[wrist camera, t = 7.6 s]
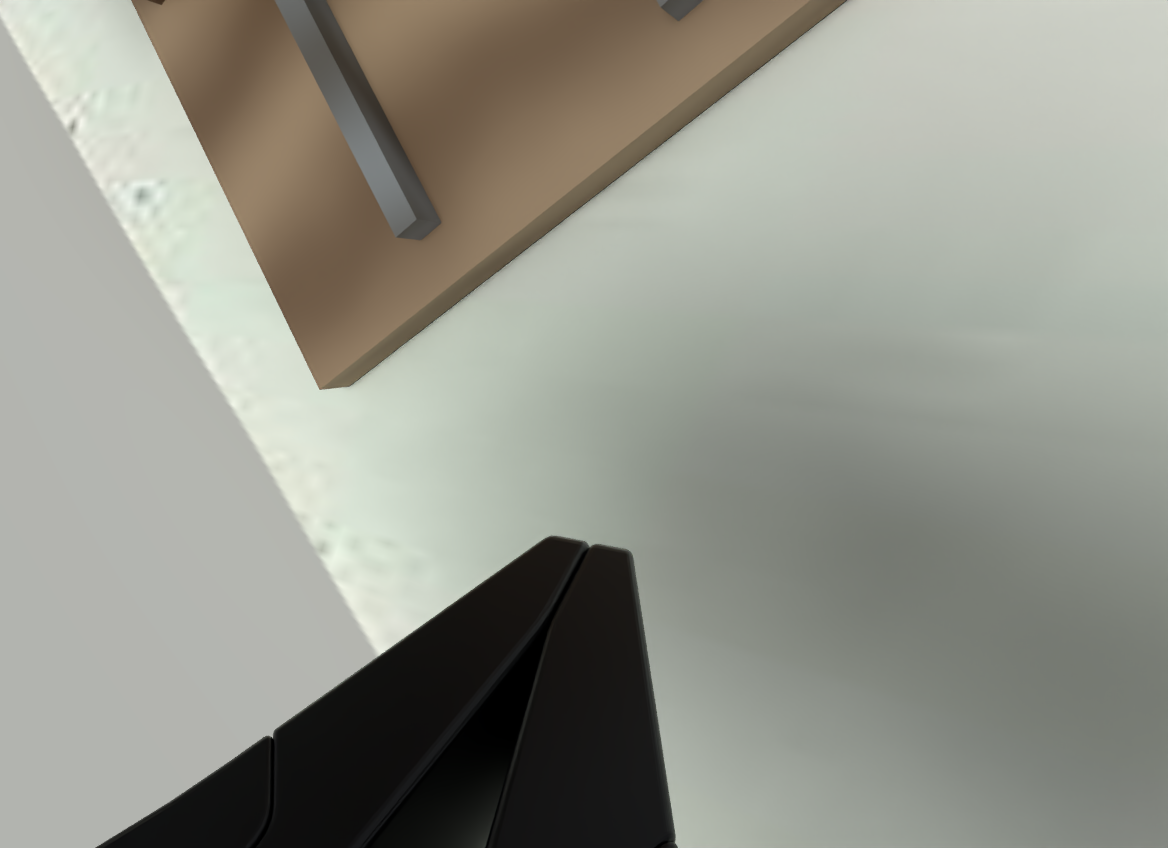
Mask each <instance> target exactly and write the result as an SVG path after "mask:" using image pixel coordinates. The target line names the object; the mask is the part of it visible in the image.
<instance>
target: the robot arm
mask: <svg viewBox="0 0 1168 848" xmlns="http://www.w3.org/2000/svg"><path fill="white" fill-rule="evenodd" d="M675 838H676V836H675V829H674V823H673V816H672V809H671V803H670V796H669V790H668V783H667V777H666V770H665V763H664V757H663V750H662V744H661V737H660V731H659V724H658V717H657V711H656V704H655V698H654V691H653V685H652V678H651V671H650V665H649V658H648V652H647V645H646V639H645V632H644V625H643V619H642V612H641V606H640V599H639V593H638V586H637V579H636V573H635V566H634V560H633V555H632V553H631V552H630V551H629V550H627V549H623V548H618V547H612V546H607V545H602V544H595V545H592V546H591V547H589V545H588V544H587V543H586V542H585V541H581V540H576V539H571V538H565V537H560V536H549V537H546V538H545V539H543V540H542V541H540V542H539V543H537V544H536V545H535V546H533V547H532V548H530V549H529V550H528V551H526V552H525V553H523V554H522V555H521V556H519V557H518V558H516V559H515V560H513V561H512V562H511V563H509V564H508V565H506V566H505V567H504V568H502V569H501V570H499V571H498V572H497V573H495V574H494V575H492V576H491V577H490V578H488V579H487V580H485V581H484V582H482V583H481V584H480V585H478V586H477V587H475V588H474V589H473V590H471V591H470V592H468V593H467V594H466V595H464V596H463V597H461V598H460V599H459V600H457V601H456V602H454V603H453V604H451V605H450V606H449V607H447V608H446V609H444V610H443V611H442V612H440V613H439V614H437V615H436V616H435V617H433V618H432V619H430V620H429V621H427V622H426V623H425V624H423V625H422V626H420V627H419V628H418V629H416V630H415V631H413V632H412V633H411V634H409V635H408V636H406V637H405V638H404V639H402V640H401V641H399V642H398V643H396V644H395V645H394V646H392V647H391V648H389V649H388V650H387V651H385V652H384V653H382V654H381V655H380V656H378V657H377V658H375V659H374V660H372V661H371V662H370V663H368V664H367V665H366V666H364V667H363V668H361V669H360V670H358V671H357V672H356V673H354V674H353V675H351V676H350V677H349V678H347V679H346V680H345V681H343V682H341V683H340V684H339V685H337V686H336V687H334V688H333V689H332V690H330V691H329V692H328V693H326V694H325V695H323V696H322V697H320V698H319V699H318V700H316V701H315V702H313V703H312V704H310V705H309V706H308V707H306V708H305V709H303V710H302V711H301V712H299V713H298V714H296V715H295V716H294V717H292V718H291V719H289V720H288V721H286V722H285V723H284V724H282V725H281V726H280V727H278V728H277V729H275V731H274V733H273V738H272V737H270V736H265V737H263V738H262V739H261V740H259V741H258V742H257V743H255V744H254V745H252V746H251V747H249V748H248V749H246V750H245V751H244V752H242V753H241V754H240V755H238V756H237V757H235V758H234V759H232V760H231V761H229V762H228V763H227V764H225V765H224V766H222V767H221V768H219V769H218V770H216V771H215V772H213V773H212V774H210V775H209V776H207V777H206V778H205V779H203V780H201V781H200V782H198V783H197V784H196V785H194V786H193V787H191V788H190V789H188V790H187V791H185V792H184V793H182V794H181V795H179V796H178V797H176V798H175V799H173V800H172V801H170V802H169V803H167V804H166V805H164V806H162V807H161V808H159V809H157V810H156V811H154V812H153V813H151V814H149V815H148V816H146V817H144V818H143V819H141V820H140V821H138V822H137V823H135V824H134V825H132V826H130V827H128V828H127V829H125V830H124V831H122V832H121V833H119V834H117V835H115V836H114V837H112V838H110V839H109V840H107V841H106V842H104V843H103V844H101V845H99V846H97V847H96V848H678V847H677V845H676V844H675Z"/></svg>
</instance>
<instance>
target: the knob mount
mask: <svg viewBox="0 0 1168 848" xmlns="http://www.w3.org/2000/svg"><path fill="white" fill-rule="evenodd" d="M131 1H132V3H133V5H134V7H135V9H136V11H137V13H138V15H139V17H140V19H141V21H142V23H143V25H144V28H145V30H146V32H147V34H148V36H149V38H150V40H151V42H152V44H153V46H154V48H155V50H156V52H157V54H158V56H159V59H160V61H161V63H162V65H163V67H164V69H165V71H166V73H167V75H168V77H169V79H170V81H171V83H172V85H173V88H174V90H175V92H176V94H177V96H178V98H179V100H180V102H181V104H182V106H183V108H184V110H185V112H186V114H187V116H188V119H189V121H190V123H191V125H192V127H193V129H194V131H195V133H196V135H197V137H198V139H199V141H200V143H201V145H202V147H203V150H204V152H205V154H206V156H207V158H208V160H209V162H210V164H211V166H212V168H213V170H214V172H215V174H216V176H217V179H218V181H219V183H220V185H221V187H222V189H223V191H224V193H225V195H226V197H227V199H228V201H229V203H230V205H231V207H232V210H233V212H234V214H235V216H236V218H237V220H238V222H239V224H240V226H241V228H242V230H243V232H244V234H245V236H246V239H247V241H248V243H249V245H250V247H251V249H252V251H253V253H254V255H255V257H256V259H257V261H258V263H259V265H260V267H261V270H262V272H263V274H264V276H265V278H266V280H267V282H268V284H269V286H270V288H271V290H272V292H273V294H274V296H275V298H276V301H277V303H278V305H279V307H280V309H281V311H282V313H283V315H284V317H285V319H286V321H287V323H288V325H289V327H290V330H291V332H292V334H293V336H294V338H295V340H296V342H297V344H298V346H299V348H300V350H301V352H302V354H303V356H304V358H305V361H306V363H307V365H308V367H309V369H310V371H311V373H312V375H313V377H314V379H315V381H316V383H317V385H318V387H319V389H320V390H322V389H331V388H339V387H348V386H350V385H352V384H353V383H354V382H355V381H357V380H358V379H359V378H361V377H362V376H363V375H364V374H366V373H367V372H368V371H370V370H371V369H372V368H373V367H375V366H376V365H377V364H379V363H380V362H381V361H382V360H384V359H385V358H386V357H388V356H389V355H390V354H391V353H393V352H394V351H395V350H397V349H398V348H399V347H400V346H402V345H403V344H404V343H406V342H407V341H408V340H409V339H411V338H412V337H413V336H415V335H416V334H417V333H419V332H420V331H421V330H422V329H424V328H425V327H426V326H428V325H429V324H430V323H431V322H433V321H434V320H435V319H437V318H438V317H439V316H440V315H442V314H443V313H444V312H446V311H447V310H448V309H449V308H451V307H452V306H453V305H455V304H456V303H457V302H458V301H460V300H461V299H462V298H464V297H465V296H466V295H467V294H469V293H470V292H471V291H473V290H474V289H475V288H477V287H478V286H479V285H480V284H482V283H483V282H484V281H486V280H487V279H488V278H489V277H491V276H492V275H493V274H495V273H496V272H497V271H498V270H500V269H501V268H502V267H504V266H505V265H506V264H507V263H509V262H510V261H511V260H513V259H514V258H515V257H516V256H518V255H519V254H520V253H522V252H523V251H524V250H525V249H527V248H528V247H529V246H531V245H532V244H533V243H534V242H536V241H537V240H538V239H540V238H541V237H542V236H544V235H545V234H546V233H547V232H549V231H550V230H551V229H553V228H554V227H555V226H556V225H558V224H559V223H560V222H562V221H563V220H564V219H565V218H567V217H568V216H569V215H571V214H572V213H573V212H574V211H576V210H577V209H578V208H580V207H581V206H582V205H583V204H585V203H586V202H587V201H589V200H590V199H591V198H592V197H594V196H595V195H596V194H598V193H599V192H600V191H602V190H603V189H604V188H605V187H607V186H608V185H609V184H611V183H612V182H613V181H614V180H616V179H617V178H618V177H620V176H621V175H622V174H623V173H625V172H626V171H627V170H629V169H630V168H631V167H632V166H634V165H635V164H636V163H638V162H639V161H640V160H641V159H643V158H644V157H645V156H647V155H648V154H649V153H650V152H652V151H653V150H654V149H656V148H657V147H658V146H659V145H661V144H662V143H663V142H665V141H666V140H667V139H669V138H670V137H671V136H672V135H674V134H675V133H676V132H678V131H679V130H680V129H681V128H683V127H684V126H685V125H687V124H688V123H689V122H690V121H692V120H693V119H694V118H696V117H697V116H698V115H699V114H701V113H702V112H703V111H705V110H706V109H707V108H708V107H710V106H711V105H712V104H714V103H715V102H716V101H717V100H719V99H720V98H721V97H723V96H724V95H725V94H727V93H728V92H729V91H730V90H732V89H733V88H734V87H736V86H737V85H738V84H739V83H741V82H742V81H743V80H745V79H746V78H747V77H748V76H750V75H751V74H752V73H754V72H755V71H756V70H757V69H759V68H760V67H761V66H763V65H764V64H765V63H766V62H768V61H769V60H770V59H772V58H773V57H774V56H775V55H777V54H778V53H779V52H781V51H782V50H783V49H784V48H786V47H787V46H788V45H790V44H791V43H792V42H794V41H795V40H796V39H797V38H799V37H800V36H801V35H803V34H804V33H805V32H806V31H808V30H809V29H810V28H812V27H813V26H814V25H815V24H817V23H818V22H819V21H821V20H822V19H823V18H824V17H826V16H827V15H828V14H830V13H831V12H832V11H833V10H835V9H836V8H837V7H839V6H840V5H841V4H842V3H844V2H845V1H846V0H131Z"/></svg>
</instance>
